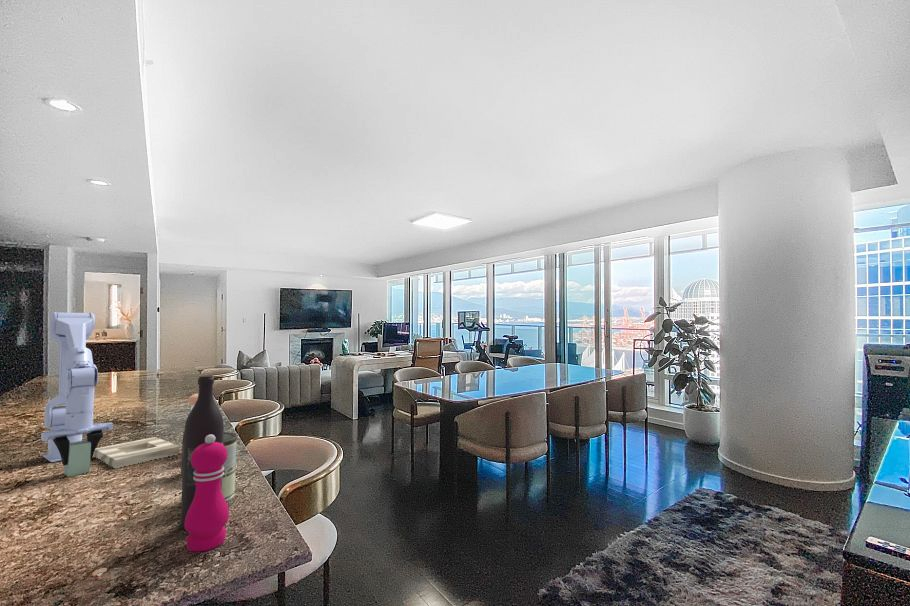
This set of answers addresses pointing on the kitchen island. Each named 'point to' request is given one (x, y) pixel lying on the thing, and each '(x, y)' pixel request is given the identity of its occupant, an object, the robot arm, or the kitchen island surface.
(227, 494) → the coffee can
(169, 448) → the board with square hole
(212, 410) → the wine bottle
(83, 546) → the kitchen island surface
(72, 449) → the peg
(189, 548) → the pepper mill
